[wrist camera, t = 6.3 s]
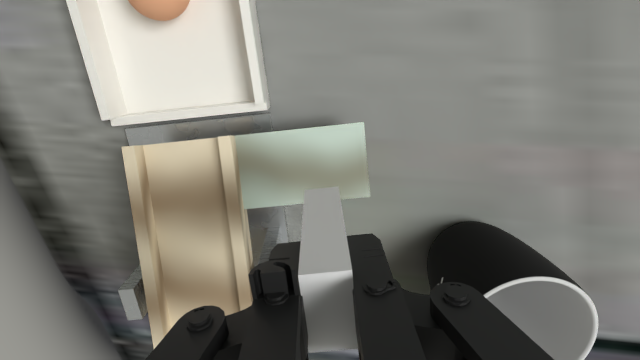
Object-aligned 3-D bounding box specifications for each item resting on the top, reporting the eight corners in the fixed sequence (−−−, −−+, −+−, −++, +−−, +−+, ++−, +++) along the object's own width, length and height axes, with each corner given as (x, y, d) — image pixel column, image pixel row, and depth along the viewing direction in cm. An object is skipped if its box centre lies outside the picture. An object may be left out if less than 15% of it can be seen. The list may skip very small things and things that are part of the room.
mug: (401, 226, 32) (438, 302, 22) (506, 192, 31) (591, 257, 21) (435, 333, 36) (479, 437, 26) (529, 306, 35) (611, 403, 25)
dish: (79, -46, 25) (30, -66, 21) (245, -65, 25) (230, -89, 20) (125, 121, 28) (92, 133, 24) (270, 105, 28) (262, 115, 24)
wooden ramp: (139, 146, 27) (105, 147, 23) (361, 123, 26) (368, 120, 22) (179, 405, 29) (155, 448, 25) (385, 387, 28) (395, 428, 24)
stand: (128, 127, 29) (63, 154, 21) (270, 112, 28) (254, 134, 21) (188, 344, 36) (154, 421, 28) (302, 333, 35) (299, 408, 28)
